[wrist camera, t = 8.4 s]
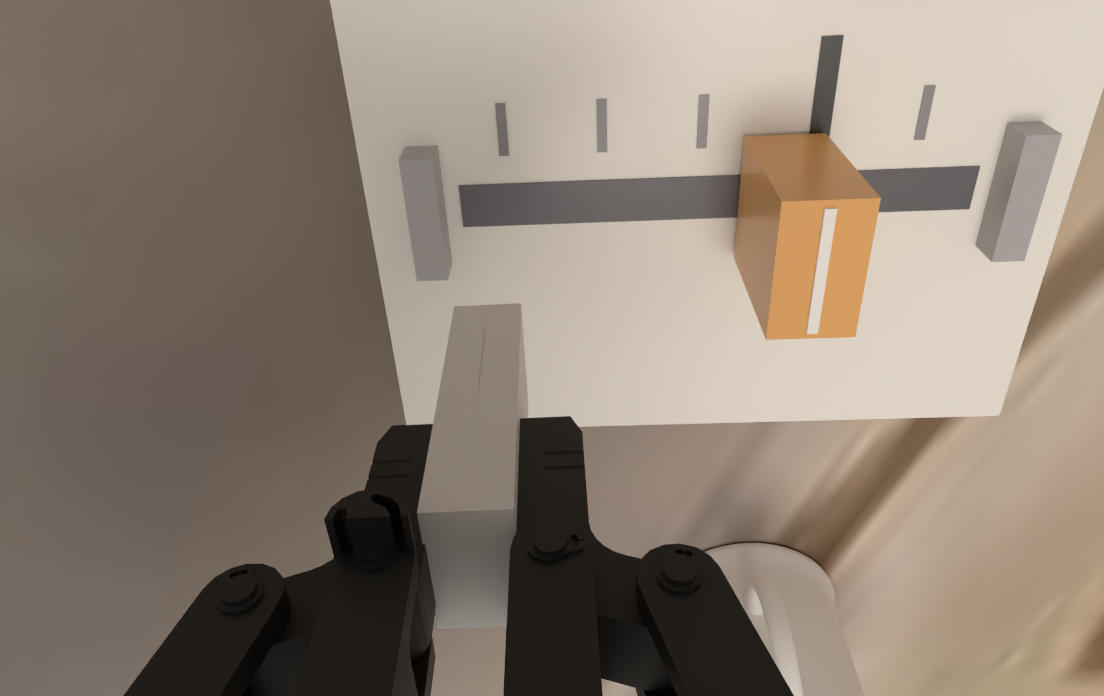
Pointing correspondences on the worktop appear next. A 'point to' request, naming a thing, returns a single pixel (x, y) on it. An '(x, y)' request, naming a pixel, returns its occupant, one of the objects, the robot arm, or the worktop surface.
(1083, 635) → the worktop surface
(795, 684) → the mug
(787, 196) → the fader
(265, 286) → the worktop surface
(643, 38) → the console
